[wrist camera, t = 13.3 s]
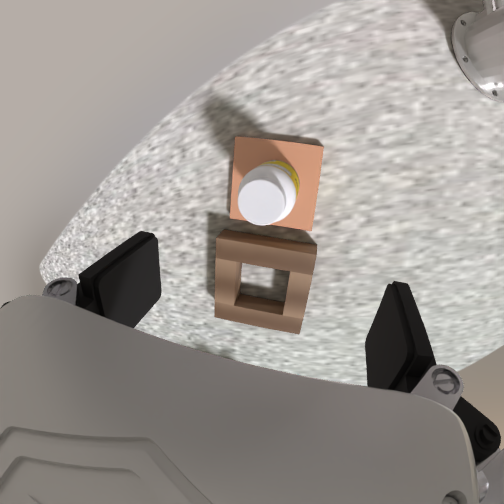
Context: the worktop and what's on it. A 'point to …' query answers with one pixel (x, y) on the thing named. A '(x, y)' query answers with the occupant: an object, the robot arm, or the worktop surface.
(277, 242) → the dispenser sleeve
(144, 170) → the worktop surface
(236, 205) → the coaster
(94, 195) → the worktop surface
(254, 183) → the supplement bottle
